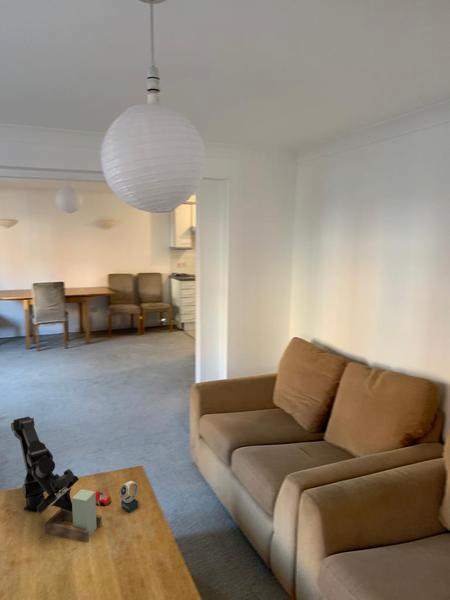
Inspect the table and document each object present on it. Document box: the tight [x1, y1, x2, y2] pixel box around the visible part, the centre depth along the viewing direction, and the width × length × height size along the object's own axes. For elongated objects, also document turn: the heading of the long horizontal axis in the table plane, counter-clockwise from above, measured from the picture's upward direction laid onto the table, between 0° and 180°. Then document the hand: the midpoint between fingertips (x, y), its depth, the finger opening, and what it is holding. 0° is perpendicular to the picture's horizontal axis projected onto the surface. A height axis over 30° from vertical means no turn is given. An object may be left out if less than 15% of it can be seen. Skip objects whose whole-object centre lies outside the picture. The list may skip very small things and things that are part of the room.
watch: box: [118, 480, 139, 513], centre depth 176 cm, size 6×8×11 cm
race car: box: [93, 490, 112, 507], centre depth 181 cm, size 13×5×4 cm, turn 77°
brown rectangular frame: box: [44, 508, 103, 543], centre depth 163 cm, size 18×10×4 cm, turn 74°
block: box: [71, 488, 98, 537], centre depth 161 cm, size 6×6×15 cm
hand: (72, 510), depth 162 cm, fingers closed
